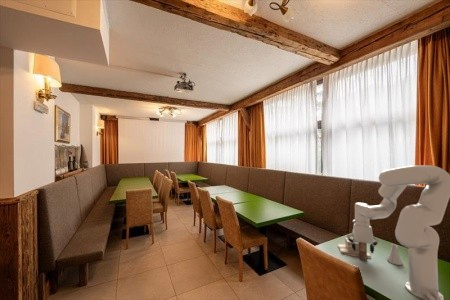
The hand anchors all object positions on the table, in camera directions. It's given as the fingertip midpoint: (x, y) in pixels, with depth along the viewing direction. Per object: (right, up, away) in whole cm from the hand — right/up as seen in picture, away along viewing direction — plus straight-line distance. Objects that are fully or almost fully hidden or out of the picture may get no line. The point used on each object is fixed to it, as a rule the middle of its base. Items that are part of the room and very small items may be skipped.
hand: (362, 250), depth 119 cm
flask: (+17, -5, -3) cm, 18 cm away
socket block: (0, -5, +9) cm, 11 cm away
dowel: (0, -5, 0) cm, 5 cm away
